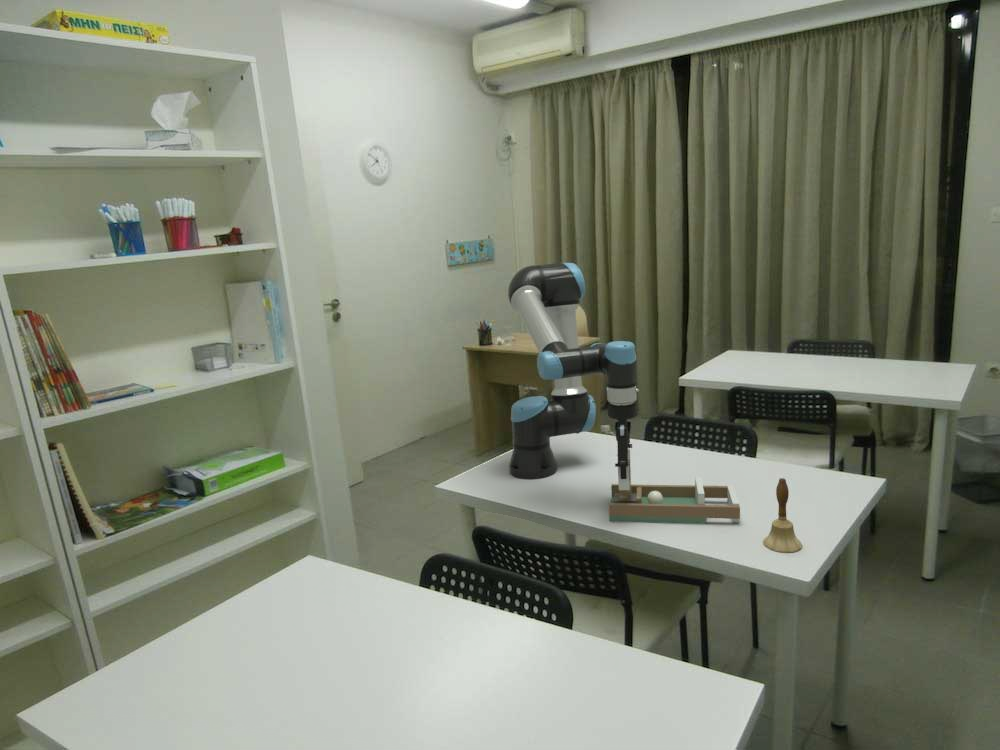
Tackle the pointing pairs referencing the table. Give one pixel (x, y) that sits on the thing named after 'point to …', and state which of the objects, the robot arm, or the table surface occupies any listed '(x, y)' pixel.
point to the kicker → (628, 493)
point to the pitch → (677, 504)
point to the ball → (655, 497)
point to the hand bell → (782, 525)
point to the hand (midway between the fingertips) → (624, 480)
